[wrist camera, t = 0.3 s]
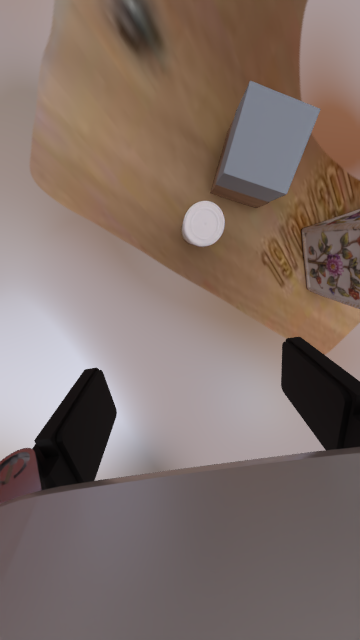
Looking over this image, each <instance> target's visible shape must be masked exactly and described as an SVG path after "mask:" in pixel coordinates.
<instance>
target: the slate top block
mask: <svg viewBox="0 0 360 640" xmlns="http://www.w3.org/2000/svg"><path fill="white" fill-rule="evenodd" d="M319 112H320V109H319V108H317V107H314V106H312V105H309V104H306V103H304V102H302V101H299V100H297V99H294V98H292V97H290V96H287V95H285V94H282V93H280V92H277V91H275V90H272V89H270V88H267V87H265V86H262V85H260V84H257V83H255V82H252V81H250V82H249V85H248V87H247V89H246V91H245V93H244V95H243V98H242V100H241V102H240V104H239V106H238V108H237V110H236V114H235V117H234V121H233V124H232V128H231V131H230V135H229V138H228V142H227V145H226V149H225V152H224V156H223V159H222V163H221V166H220V170H219V173H218V177H217V181H216V184H215V185H218V186H221V187H224V188H227V189H230V190H233V191H236V192H239V193H242V194H245V195H248V196H251V197H254V198H258V199H261V200H264V201H267V202H270V201H272V200H274V199H277V198H279V197H281V196H284V195H286V194H287V192H288V189H289V187H290V184H291V182H292V179H293V177H294V174H295V172H296V169H297V167H298V164H299V162H300V159H301V157H302V154H303V152H304V149H305V147H306V144H307V142H308V139H309V137H310V134H311V132H312V129H313V127H314V124H315V122H316V119H317V117H318V114H319Z"/></svg>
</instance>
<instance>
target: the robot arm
mask: <svg viewBox="0 0 360 640" xmlns="http://www.w3.org/2000/svg"><path fill="white" fill-rule="evenodd" d="M281 386H282V390H283V392H284V393H285V395H286V396H287V398H288V399H289V400H290V402H291V403H292V404H293V406H294V407H295V408H296V410H297V411H298V413H299V414H300V415H301V417H302V418H303V419H304V421H305V422H306V424H307V425H308V426H309V428H310V429H311V430H312V432H313V433H314V435H315V436H316V437H317V439H318V440H319V441H320V443H321V444H322V445H323V447H324V448H325V450H326V451H317V452H308V453H300V454H292V455H285V456H277V457H269V458H261V459H253V460H245V461H238V462H230V463H222V464H214V465H207V466H200V467H193V468H184V469H178V470H169V471H162V472H155V473H148V474H141V475H134V476H126V477H119V478H112V479H105V480H98V481H94V480H95V477H96V474H97V471H98V468H99V465H100V462H101V459H102V456H103V453H104V451H105V448H106V445H107V442H108V439H109V436H110V433H111V430H112V427H113V424H114V421H115V418H116V413H117V412H116V407H115V405H114V402H113V399H112V396H111V394H110V391H109V388H108V385H107V383H106V380H105V377H104V374H103V372H102V370H99V369H98V368H92V369H86V370H84V372H83V373H82V375H81V376H80V377H79V379H78V380H77V382H76V383H75V384H74V386H73V387H72V388H71V390H70V391H69V393H68V394H67V395H66V397H65V399H64V400H63V401H62V403H61V404H60V405H59V407H58V408H57V410H56V411H55V412H54V414H53V415H52V417H51V418H50V419H49V421H48V422H47V424H46V425H45V426H44V428H43V429H42V431H41V432H40V433H39V435H38V436H37V438H36V439H35V443H36V444H35V446H34V447H33V449H31V448H23V449H20V450H17V451H15V452H13V453H11V454H10V455H8V456H7V457H5V458H4V459H3V460H2V461H0V640H360V381H358V380H357V379H356V378H354V377H353V376H352V375H350V374H349V373H348V372H346V371H345V370H344V369H342V368H341V367H340V366H338V365H337V364H336V363H334V362H333V361H331V360H330V359H329V358H328V357H326V356H325V355H324V354H322V353H321V352H320V351H318V350H317V349H316V348H314V347H313V346H312V345H310V344H309V343H308V342H306V341H305V340H304V339H302V338H301V337H294V338H287V339H286V342H284V343H283V345H282V378H281Z"/></svg>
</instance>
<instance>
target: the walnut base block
mask: <svg viewBox="0 0 360 640" xmlns="http://www.w3.org/2000/svg"><path fill="white" fill-rule="evenodd" d="M233 121H234V120H233ZM232 124H233V122H232ZM232 124H231V126H230V128H229V130H228V132H227V136H226V139H225V143H224V147H223V150H222V154H221V157H220V161H219V164H218V168H217V172H216V175H215V179H214V182H213V186H212V190H211V193H212V194H215V195H218V196H221V197H224V198H227V199H230V200H233V201H236V202H239V203H242V204H245V205H248V206H251V207H255V208H258V207H260V206H262V205H265V204H267V203H269V202H267V201H264V200H261V199H258V198H254V197H251V196H248V195H245V194H242V193H239V192H236V191H233V190H230V189H227V188H224V187H221V186H218V185H215V184H216V181H217V177H218V173H219V170H220V166H221V163H222V159H223V156H224V152H225V149H226V145H227V142H228V138H229V135H230V131H231V128H232Z"/></svg>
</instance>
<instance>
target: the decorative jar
mask: <svg viewBox="0 0 360 640" xmlns="http://www.w3.org/2000/svg"><path fill="white" fill-rule="evenodd" d="M302 241H303V253H304V262H305V271H306V281H307V289H308V290H310V291H312V292H314V293H316V294H319V295H321V296H324V297H327V298H330V299H333V300H336V301H338V302H341V303H344V304H347V305H349V306H352V307H355V308H358V309H360V209H358V210H355V211H353V212H350V213H346V214H344V215H341V216H338V217H335V218H332V219H329V220H326V221H323V222H320V223H317V224H315V225H312V226H309V227H306V228H304V229H302Z"/></svg>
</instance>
